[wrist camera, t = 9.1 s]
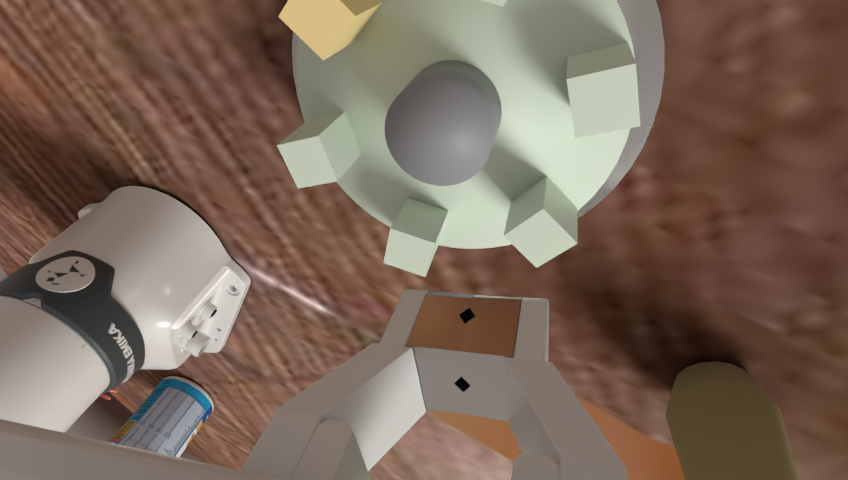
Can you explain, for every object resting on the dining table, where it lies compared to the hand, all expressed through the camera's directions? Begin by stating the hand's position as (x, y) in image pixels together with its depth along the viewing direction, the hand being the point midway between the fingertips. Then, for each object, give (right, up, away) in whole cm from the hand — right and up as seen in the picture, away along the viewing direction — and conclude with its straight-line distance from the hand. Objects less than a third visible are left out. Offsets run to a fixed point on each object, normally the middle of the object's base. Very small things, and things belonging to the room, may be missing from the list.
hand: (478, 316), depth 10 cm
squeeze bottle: (+24, -11, +30) cm, 40 cm away
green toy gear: (+1, +11, +20) cm, 23 cm away
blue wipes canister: (-34, -20, +56) cm, 69 cm away
